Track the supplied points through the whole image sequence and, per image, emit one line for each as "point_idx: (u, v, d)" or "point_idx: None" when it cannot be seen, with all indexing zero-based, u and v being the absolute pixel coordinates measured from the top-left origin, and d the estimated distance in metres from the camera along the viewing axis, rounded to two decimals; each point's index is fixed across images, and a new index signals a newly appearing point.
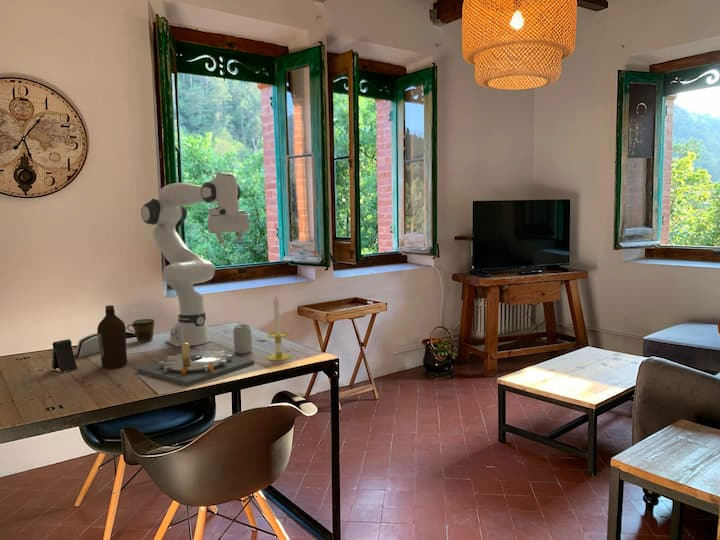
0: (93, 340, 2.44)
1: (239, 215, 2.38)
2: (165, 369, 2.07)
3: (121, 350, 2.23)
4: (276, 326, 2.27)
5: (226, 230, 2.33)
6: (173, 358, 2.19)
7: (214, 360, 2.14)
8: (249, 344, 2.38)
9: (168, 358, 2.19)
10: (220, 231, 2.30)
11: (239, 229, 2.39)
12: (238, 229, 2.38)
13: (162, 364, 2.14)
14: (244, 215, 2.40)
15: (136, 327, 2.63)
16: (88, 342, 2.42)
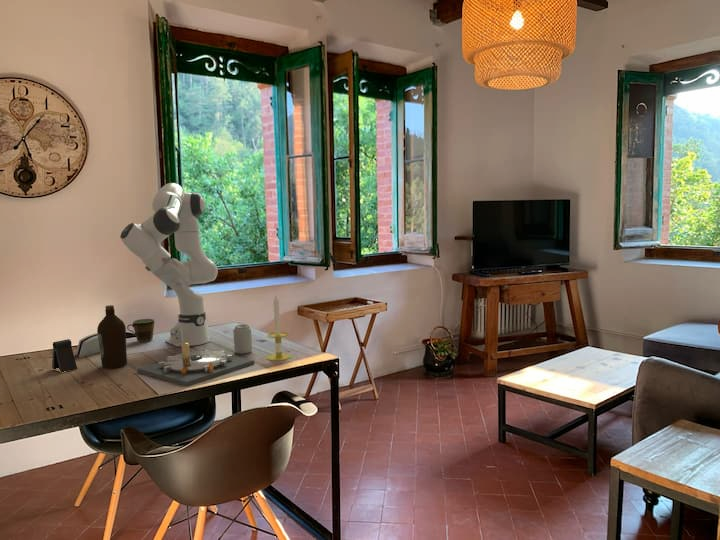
0: (93, 340, 2.44)
1: (164, 266, 2.01)
2: (165, 369, 2.07)
3: (121, 350, 2.23)
4: (276, 326, 2.27)
5: (168, 279, 2.10)
6: (173, 358, 2.19)
7: (214, 360, 2.14)
8: (249, 344, 2.38)
9: (168, 358, 2.19)
10: (166, 280, 2.12)
11: (176, 277, 2.04)
12: (175, 277, 2.05)
13: (162, 364, 2.14)
14: (167, 265, 1.99)
15: (136, 327, 2.63)
16: (88, 342, 2.42)
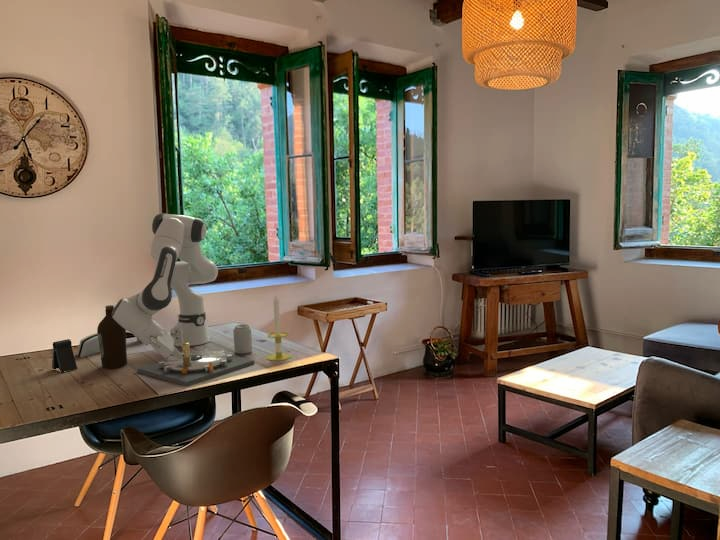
0: (94, 340, 2.44)
1: None
2: (165, 369, 2.07)
3: (121, 350, 2.23)
4: (276, 326, 2.27)
5: None
6: (173, 358, 2.19)
7: (214, 360, 2.14)
8: (249, 344, 2.38)
9: (168, 358, 2.19)
10: None
11: None
12: None
13: (162, 364, 2.14)
14: (151, 345, 1.96)
15: None
16: (90, 342, 2.42)
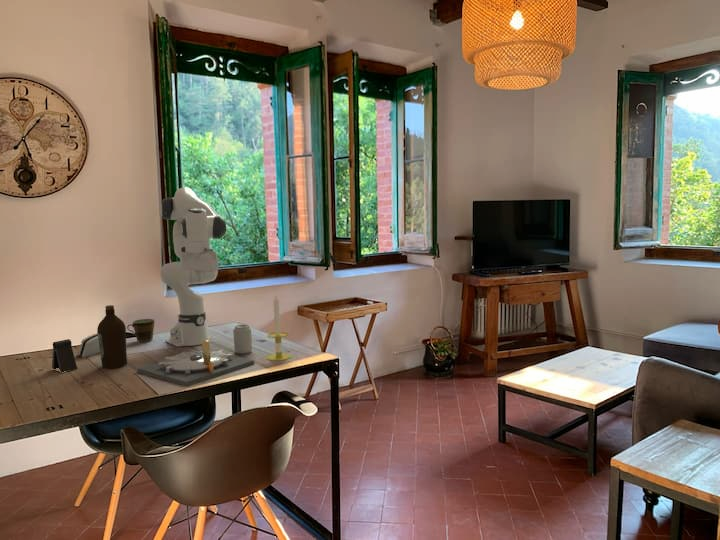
0: (96, 340, 2.44)
1: (202, 254, 2.21)
2: (188, 370, 2.04)
3: (121, 350, 2.23)
4: (276, 326, 2.27)
5: (191, 268, 2.27)
6: (171, 363, 2.13)
7: (219, 356, 2.21)
8: (249, 344, 2.38)
9: (166, 364, 2.11)
10: (187, 268, 2.28)
11: (202, 269, 2.22)
12: (201, 268, 2.23)
13: (171, 369, 2.07)
14: (206, 254, 2.20)
15: (136, 327, 2.63)
16: (91, 342, 2.42)
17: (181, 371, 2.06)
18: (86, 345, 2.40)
